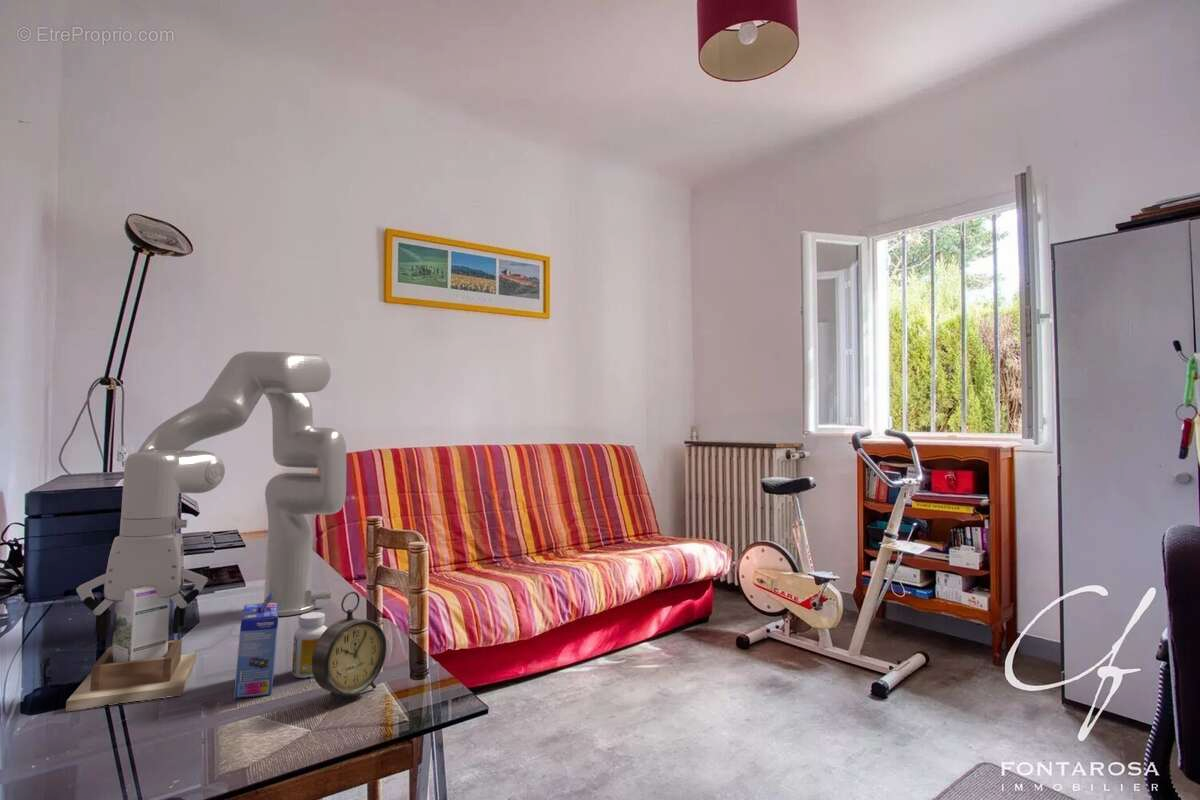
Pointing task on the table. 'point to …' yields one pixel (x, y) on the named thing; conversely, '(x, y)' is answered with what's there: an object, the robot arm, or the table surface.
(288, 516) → the robot arm
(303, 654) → the supplement bottle
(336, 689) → the alarm clock
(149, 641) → the syrup box
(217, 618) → the table surface
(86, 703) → the desk stand
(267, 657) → the ink cartridge box
